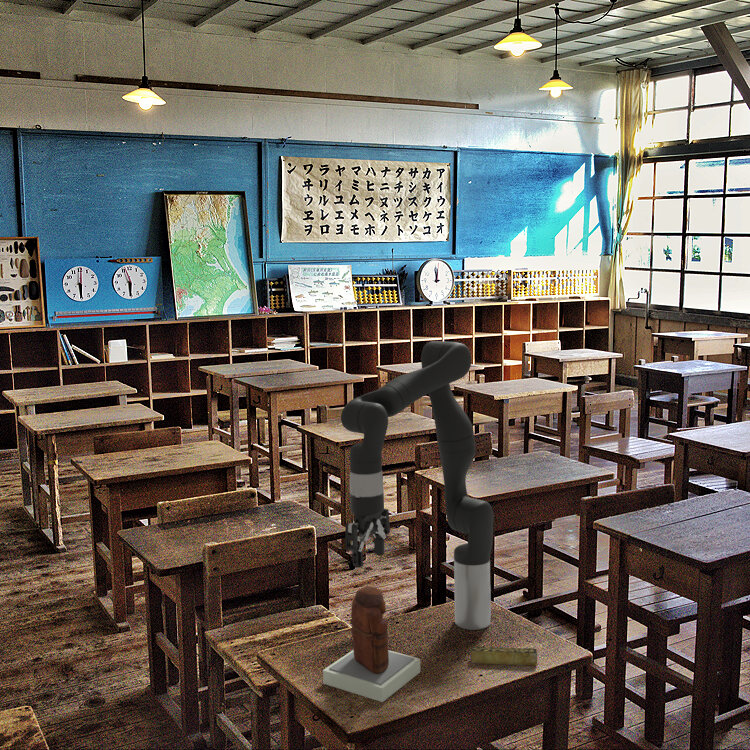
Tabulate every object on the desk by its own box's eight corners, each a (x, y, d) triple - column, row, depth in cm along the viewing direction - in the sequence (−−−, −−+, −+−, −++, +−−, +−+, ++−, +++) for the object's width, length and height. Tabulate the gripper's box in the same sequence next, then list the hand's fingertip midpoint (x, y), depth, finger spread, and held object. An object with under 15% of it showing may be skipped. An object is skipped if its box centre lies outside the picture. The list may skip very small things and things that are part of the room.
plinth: (363, 655, 211) (362, 642, 210) (420, 671, 202) (420, 657, 201) (323, 683, 197) (322, 668, 197) (382, 702, 189) (382, 686, 188)
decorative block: (536, 662, 206) (536, 647, 205) (537, 666, 203) (537, 652, 203) (471, 659, 208) (471, 645, 208) (470, 663, 206) (470, 649, 205)
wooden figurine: (397, 669, 196) (395, 592, 194) (373, 677, 193) (371, 599, 190) (370, 649, 206) (368, 576, 204) (346, 656, 203) (344, 582, 200)
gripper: (370, 480, 201) (372, 548, 204) (334, 496, 190) (336, 568, 192) (398, 485, 197) (399, 554, 199) (362, 501, 185) (364, 574, 188)
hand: (368, 560), depth 196 cm, fingers open, 8 cm apart
